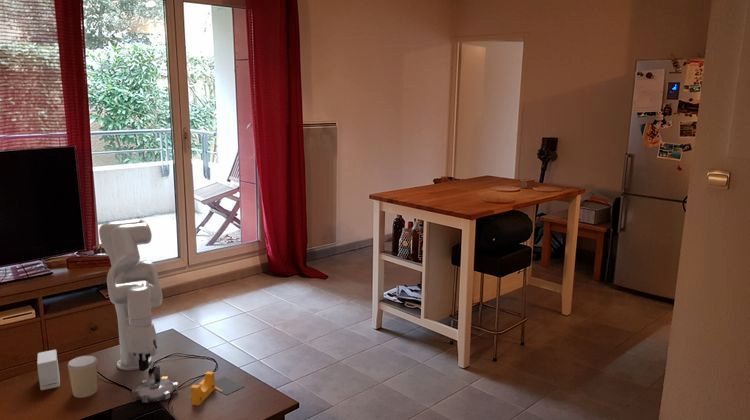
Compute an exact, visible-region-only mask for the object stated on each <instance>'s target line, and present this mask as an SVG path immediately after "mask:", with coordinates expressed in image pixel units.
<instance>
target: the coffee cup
mask: <svg viewBox="0 0 750 420" xmlns="http://www.w3.org/2000/svg"><path fill="white" fill-rule="evenodd" d="M67 368H68V374H69V380H70V385H71V391H72V395H73V397H75V398H87V397H88V398H89V397H91V396H93V395H94V394H95V393H97V391H98V359H97V358H96V357H95V356H93V355H81V356H76V357H74V358H72V359H71V360H69V361H68V363H67Z"/></svg>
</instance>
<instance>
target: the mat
mask: <svg viewBox="0 0 750 420" xmlns="http://www.w3.org/2000/svg"><path fill="white" fill-rule="evenodd" d="M243 388H245V386H244V385H242V384H241V383H239V382H236V381H234V380H233V379H231V378H228V377H226V376H222V377H220V378H217V379H216V380H215V389H214V390H215V391H218V392H219V393H221V394H223V395H225V396H228V395H230V394H232V393H234V392H236V391H238V390H241V389H243Z"/></svg>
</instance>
